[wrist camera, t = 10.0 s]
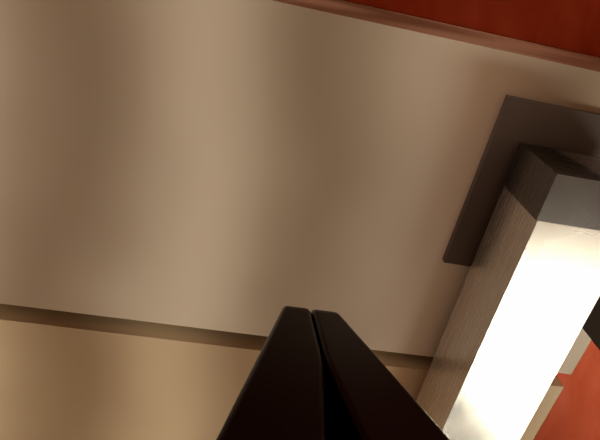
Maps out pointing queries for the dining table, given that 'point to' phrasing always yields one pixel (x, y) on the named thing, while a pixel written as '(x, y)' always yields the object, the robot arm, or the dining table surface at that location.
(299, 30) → the wooden case with bar
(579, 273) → the latch bar
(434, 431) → the robot arm
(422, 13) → the dining table surface
